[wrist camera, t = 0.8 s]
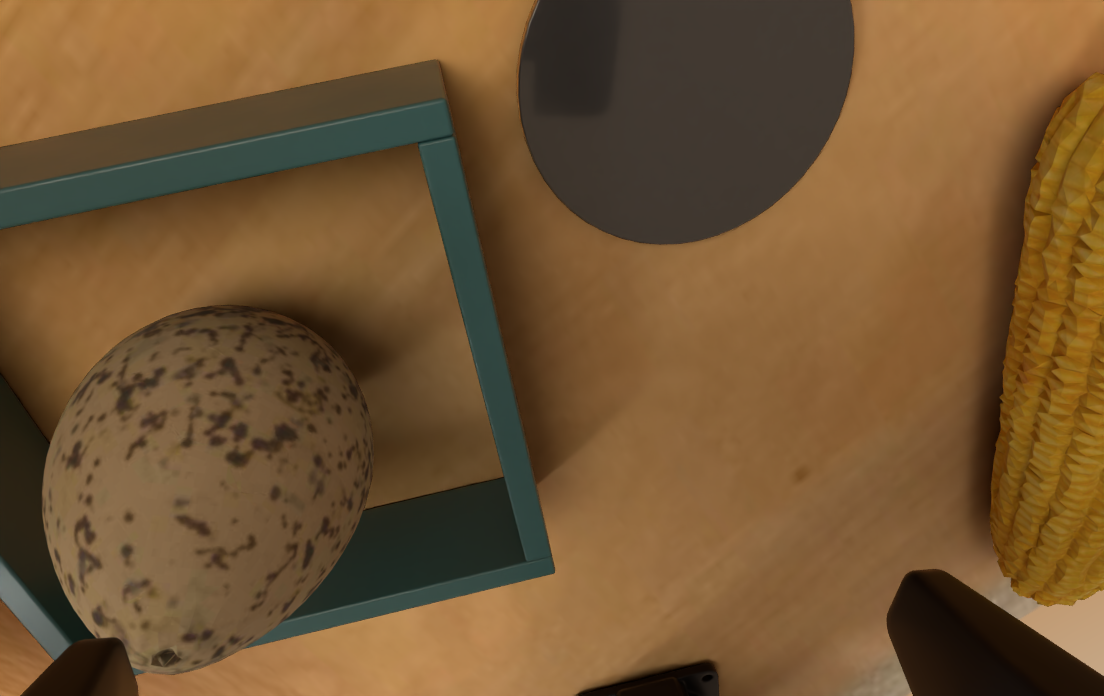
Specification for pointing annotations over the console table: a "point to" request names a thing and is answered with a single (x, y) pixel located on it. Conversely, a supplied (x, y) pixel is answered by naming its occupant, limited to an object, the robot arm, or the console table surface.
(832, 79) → the coaster
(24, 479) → the frame
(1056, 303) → the food
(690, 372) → the console table surface
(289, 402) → the decorative egg
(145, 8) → the console table surface
